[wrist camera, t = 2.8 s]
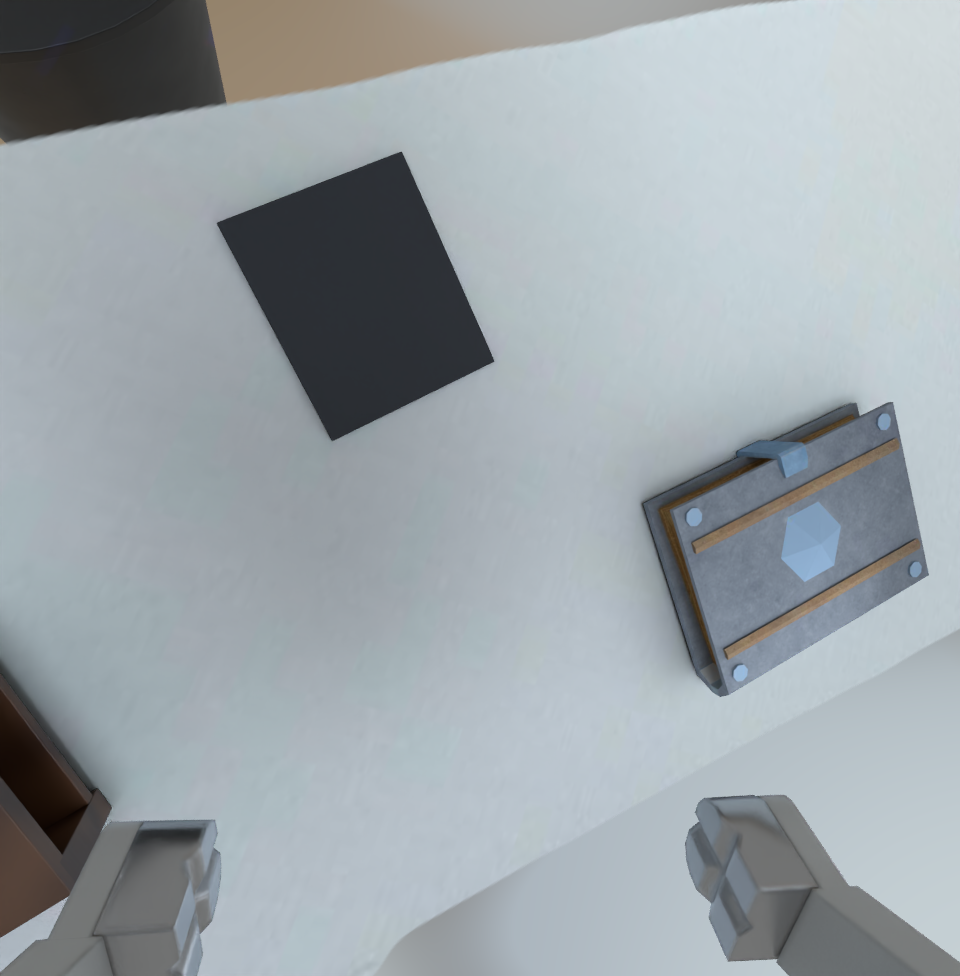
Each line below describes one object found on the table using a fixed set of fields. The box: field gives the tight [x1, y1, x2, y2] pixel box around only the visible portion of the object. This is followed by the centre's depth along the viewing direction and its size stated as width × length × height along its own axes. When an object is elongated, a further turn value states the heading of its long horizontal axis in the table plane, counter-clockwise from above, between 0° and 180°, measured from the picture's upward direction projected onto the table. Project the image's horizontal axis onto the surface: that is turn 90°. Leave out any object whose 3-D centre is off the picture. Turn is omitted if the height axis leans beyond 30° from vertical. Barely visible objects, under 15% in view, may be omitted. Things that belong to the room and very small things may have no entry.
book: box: [643, 402, 929, 697], centre depth 47 cm, size 21×16×5 cm
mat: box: [217, 152, 494, 441], centre depth 37 cm, size 14×12×1 cm
